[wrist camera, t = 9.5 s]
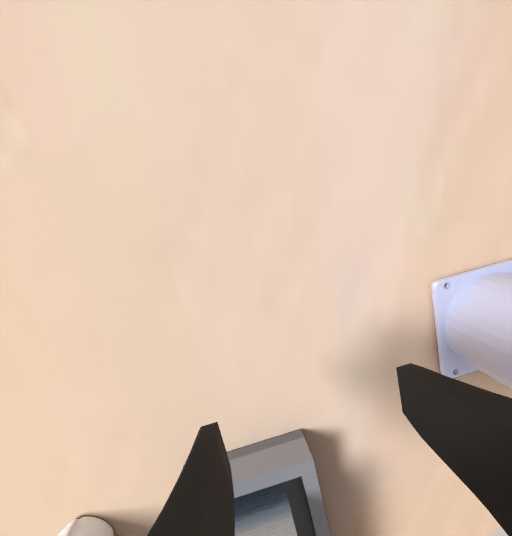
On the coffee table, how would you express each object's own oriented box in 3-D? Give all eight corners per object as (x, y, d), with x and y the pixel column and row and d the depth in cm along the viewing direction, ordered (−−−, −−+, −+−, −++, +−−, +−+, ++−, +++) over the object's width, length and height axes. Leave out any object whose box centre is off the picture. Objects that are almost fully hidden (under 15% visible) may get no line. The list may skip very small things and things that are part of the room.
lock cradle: (301, 428, 22) (313, 458, 19) (330, 553, 25) (344, 595, 22) (183, 465, 21) (178, 502, 19) (226, 590, 24) (227, 638, 21)
